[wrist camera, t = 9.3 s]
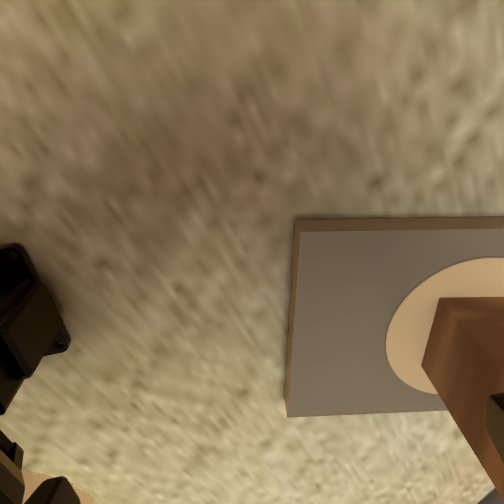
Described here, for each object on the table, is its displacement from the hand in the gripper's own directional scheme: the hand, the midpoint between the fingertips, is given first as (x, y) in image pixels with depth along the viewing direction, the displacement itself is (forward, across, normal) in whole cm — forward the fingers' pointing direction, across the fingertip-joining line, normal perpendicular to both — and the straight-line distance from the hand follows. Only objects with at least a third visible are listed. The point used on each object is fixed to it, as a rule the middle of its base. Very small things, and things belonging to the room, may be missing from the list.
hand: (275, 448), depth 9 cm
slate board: (+13, -8, +8) cm, 17 cm away
